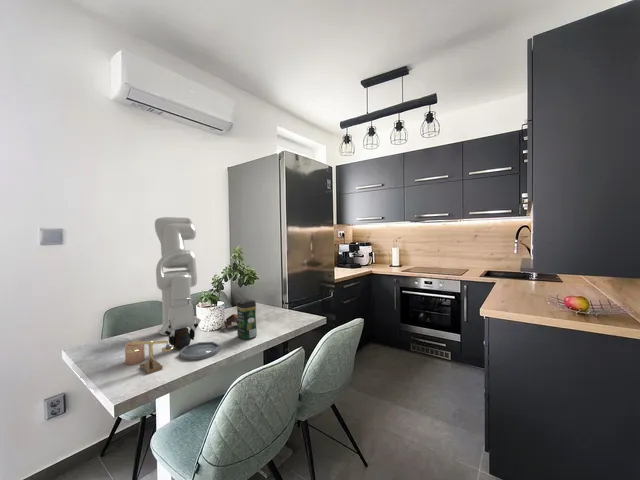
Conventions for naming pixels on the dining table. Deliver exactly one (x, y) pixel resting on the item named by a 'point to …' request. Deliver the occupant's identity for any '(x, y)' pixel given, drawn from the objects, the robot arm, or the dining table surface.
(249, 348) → the dining table surface
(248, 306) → the coffee jar
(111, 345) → the dining table surface
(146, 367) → the balance
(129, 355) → the terracotta cup
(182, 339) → the mate gourd
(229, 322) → the pottery mug
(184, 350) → the dish
